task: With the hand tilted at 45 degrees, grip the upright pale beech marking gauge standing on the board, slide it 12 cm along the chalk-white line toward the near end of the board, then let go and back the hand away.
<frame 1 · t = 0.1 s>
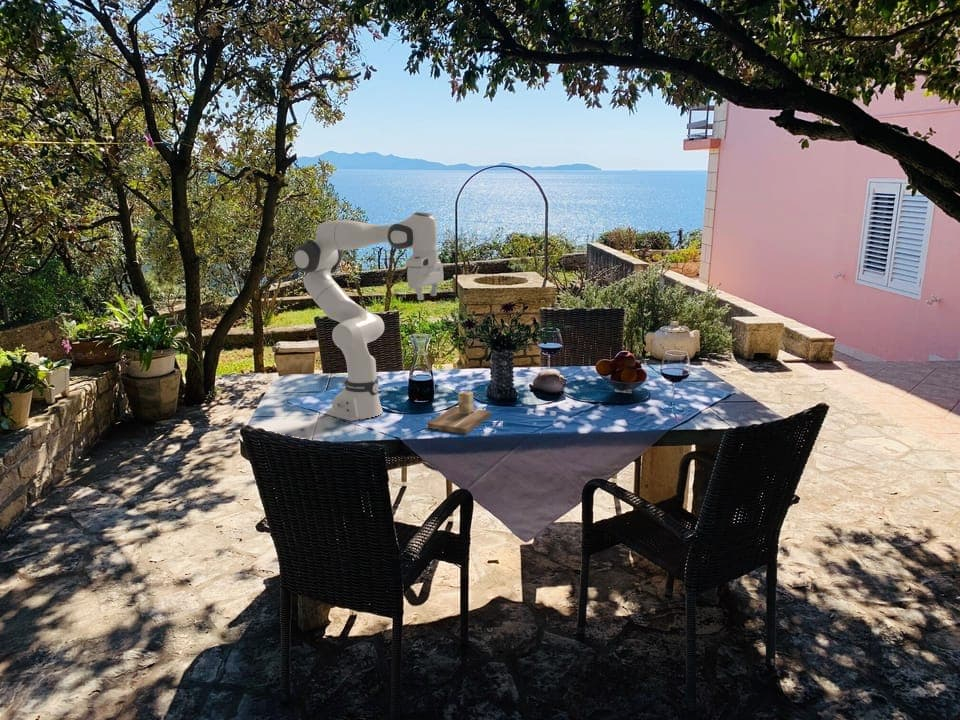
hand: (427, 297, 248), 48 cm above the table, tool pointing down, fingers open, 8 cm apart
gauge: (466, 412, 264), point 2 cm above the table, touching board
board: (459, 422, 260), on the table
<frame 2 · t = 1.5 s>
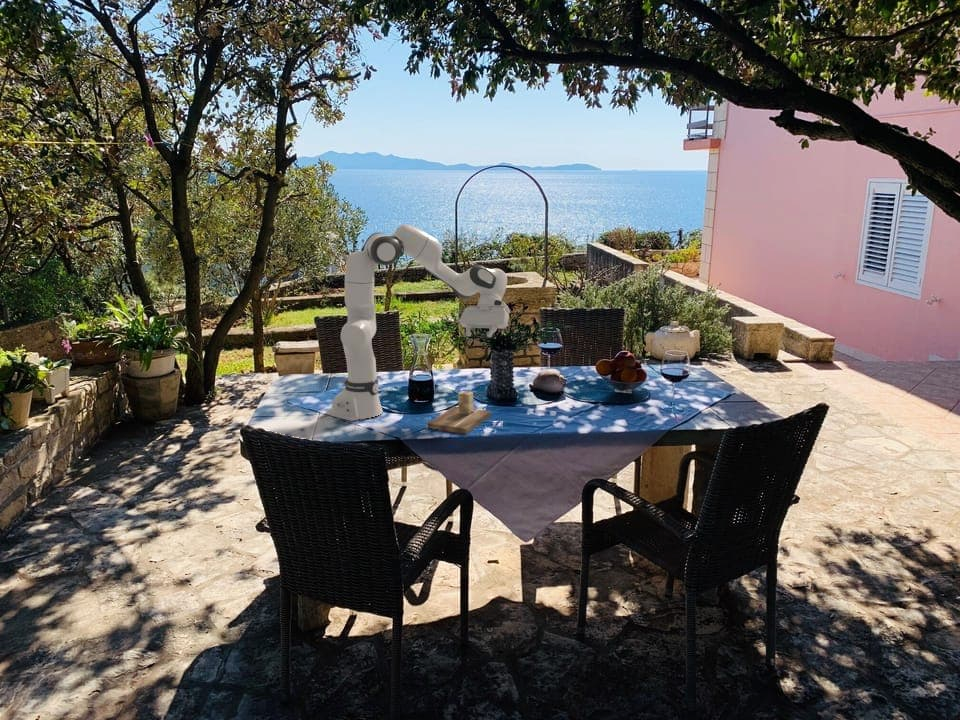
hand: (478, 336, 267), 30 cm above the table, tool tilted 45°, fingers open, 8 cm apart
nothing on the table moved.
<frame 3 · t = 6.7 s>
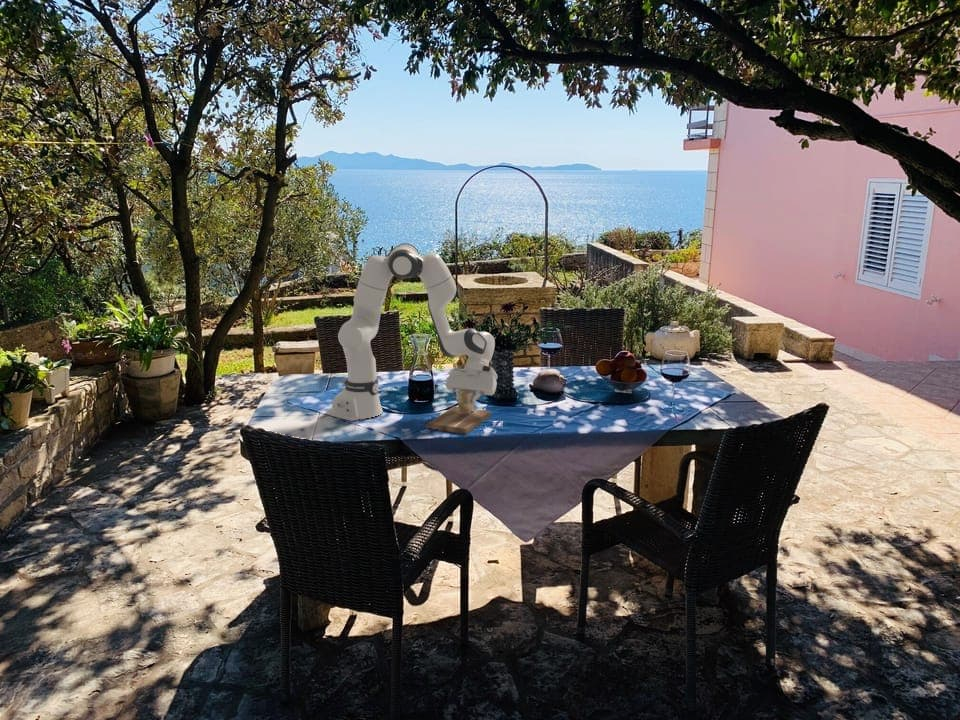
hand: (465, 401, 262), 7 cm above the table, tool tilted 45°, fingers closed on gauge, 5 cm apart
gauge: (466, 412, 264), point 2 cm above the table, touching board, gripper
when the fingers open (7 cm above the table, at t = 11.2 s): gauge stays where it is, resting on board.
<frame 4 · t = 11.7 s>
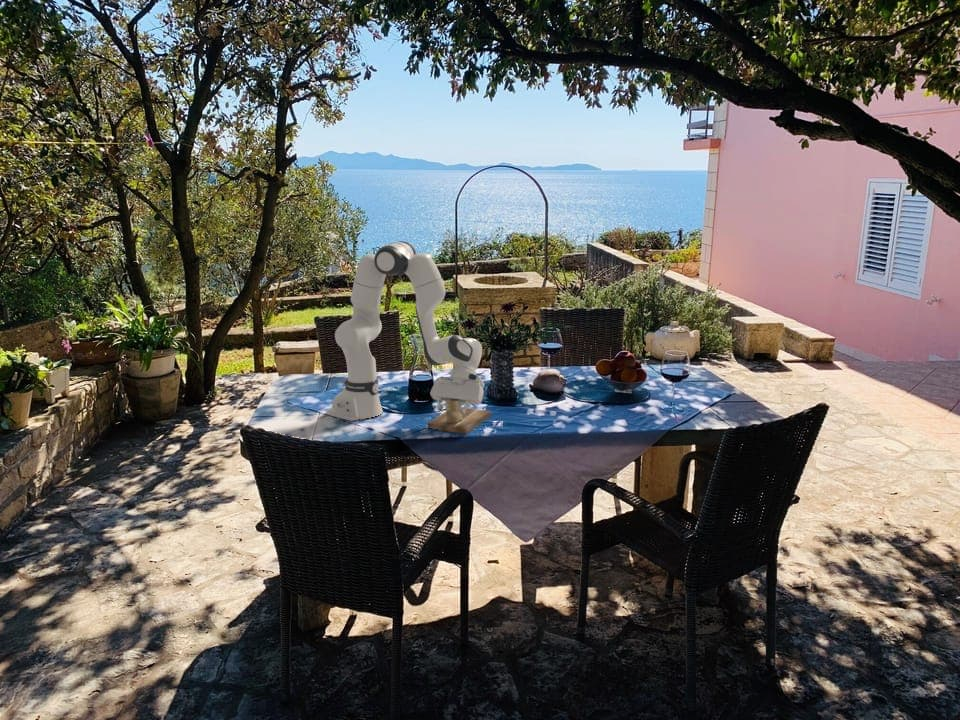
hand: (450, 411, 252), 7 cm above the table, tool tilted 45°, fingers open, 8 cm apart
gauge: (454, 420, 255), point 2 cm above the table, touching board
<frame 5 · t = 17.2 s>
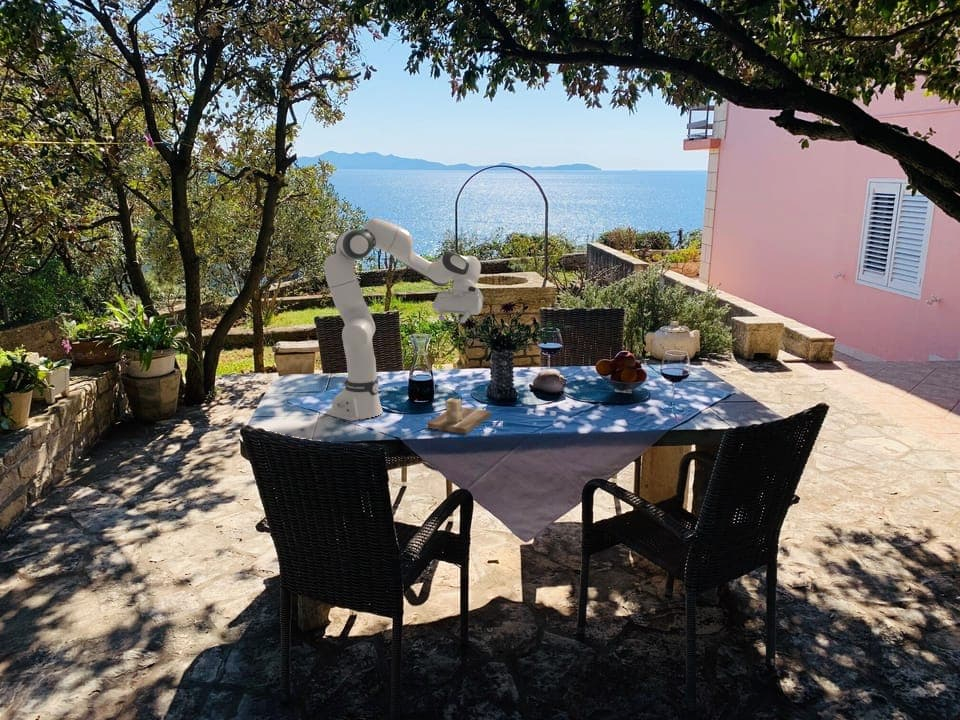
hand: (451, 321, 268), 35 cm above the table, tool tilted 45°, fingers open, 8 cm apart
nothing on the table moved.
at the end: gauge 2.1 cm from the target spot, point 2.0 cm above the table; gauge tilted 0°; the gripper is holding nothing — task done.
